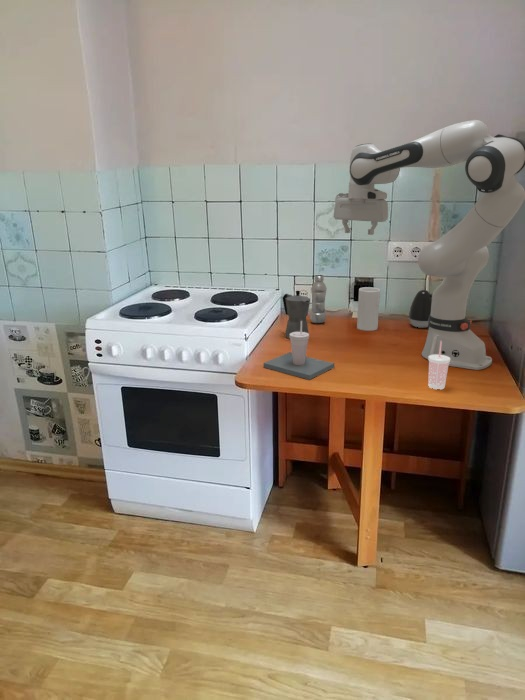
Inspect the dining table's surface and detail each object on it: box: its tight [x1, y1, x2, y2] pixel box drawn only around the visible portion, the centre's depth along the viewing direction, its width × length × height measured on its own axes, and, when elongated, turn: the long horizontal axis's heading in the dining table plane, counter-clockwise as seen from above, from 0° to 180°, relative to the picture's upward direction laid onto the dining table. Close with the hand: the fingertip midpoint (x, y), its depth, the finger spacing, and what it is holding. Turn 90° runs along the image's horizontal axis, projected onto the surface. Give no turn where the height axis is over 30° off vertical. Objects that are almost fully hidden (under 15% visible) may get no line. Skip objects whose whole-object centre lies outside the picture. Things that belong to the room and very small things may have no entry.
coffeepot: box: [282, 290, 311, 340], centre depth 205 cm, size 15×9×18 cm, turn 36°
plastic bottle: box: [309, 274, 327, 324], centre depth 223 cm, size 6×7×20 cm
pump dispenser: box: [408, 289, 433, 329], centre depth 219 cm, size 10×10×15 cm
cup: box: [356, 286, 381, 332], centre depth 216 cm, size 8×8×16 cm
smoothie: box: [289, 321, 310, 365], centre depth 171 cm, size 6×6×14 cm
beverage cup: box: [427, 341, 450, 390], centre depth 156 cm, size 6×6×14 cm
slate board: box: [263, 352, 335, 381], centre depth 174 cm, size 18×14×2 cm
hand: (358, 233), depth 193 cm, fingers open, 8 cm apart
